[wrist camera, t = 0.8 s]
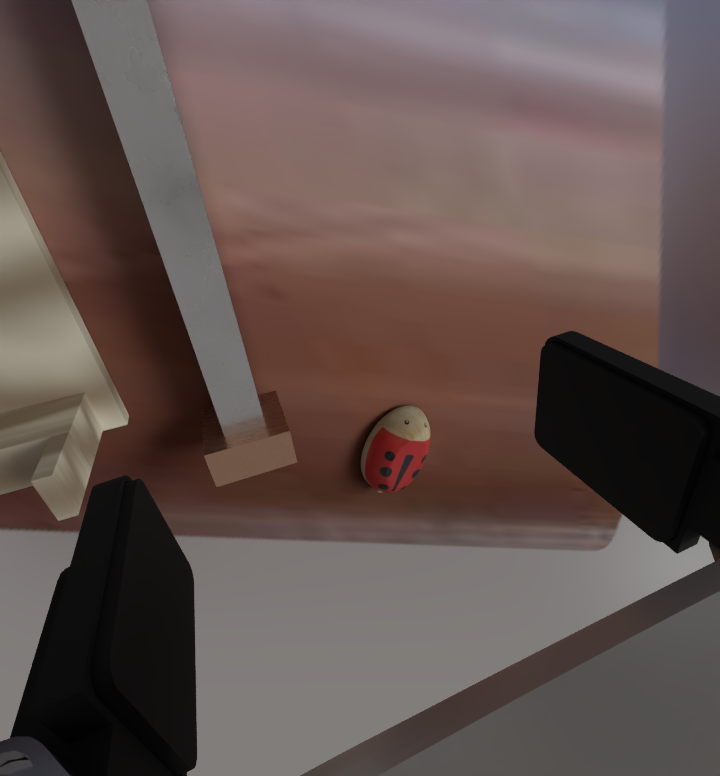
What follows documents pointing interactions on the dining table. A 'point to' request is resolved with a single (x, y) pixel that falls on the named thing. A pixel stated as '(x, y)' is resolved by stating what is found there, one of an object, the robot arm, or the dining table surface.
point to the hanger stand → (46, 369)
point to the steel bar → (183, 237)
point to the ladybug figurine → (396, 449)
